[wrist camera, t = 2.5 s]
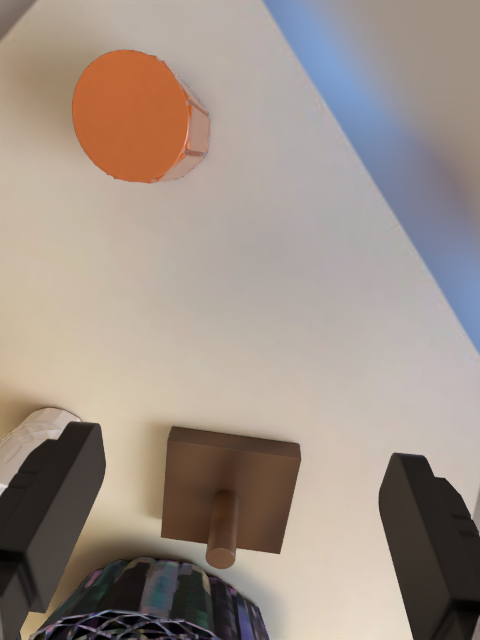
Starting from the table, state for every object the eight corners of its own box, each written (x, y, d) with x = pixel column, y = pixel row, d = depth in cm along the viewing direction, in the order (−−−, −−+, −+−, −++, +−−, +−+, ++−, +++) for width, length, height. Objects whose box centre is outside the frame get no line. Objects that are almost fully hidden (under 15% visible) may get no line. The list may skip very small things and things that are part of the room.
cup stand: (299, 443, 37) (308, 513, 30) (279, 537, 42) (282, 617, 34) (172, 426, 38) (149, 491, 30) (165, 521, 42) (144, 598, 35)
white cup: (5, 443, 39) (-75, 529, 30) (36, 386, 37) (-41, 462, 28) (77, 481, 41) (21, 575, 31) (112, 429, 38) (62, 514, 29)
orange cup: (213, 86, 27) (193, 57, 20) (204, 182, 29) (184, 189, 22) (122, 74, 27) (69, 41, 20) (121, 171, 30) (73, 174, 22)
